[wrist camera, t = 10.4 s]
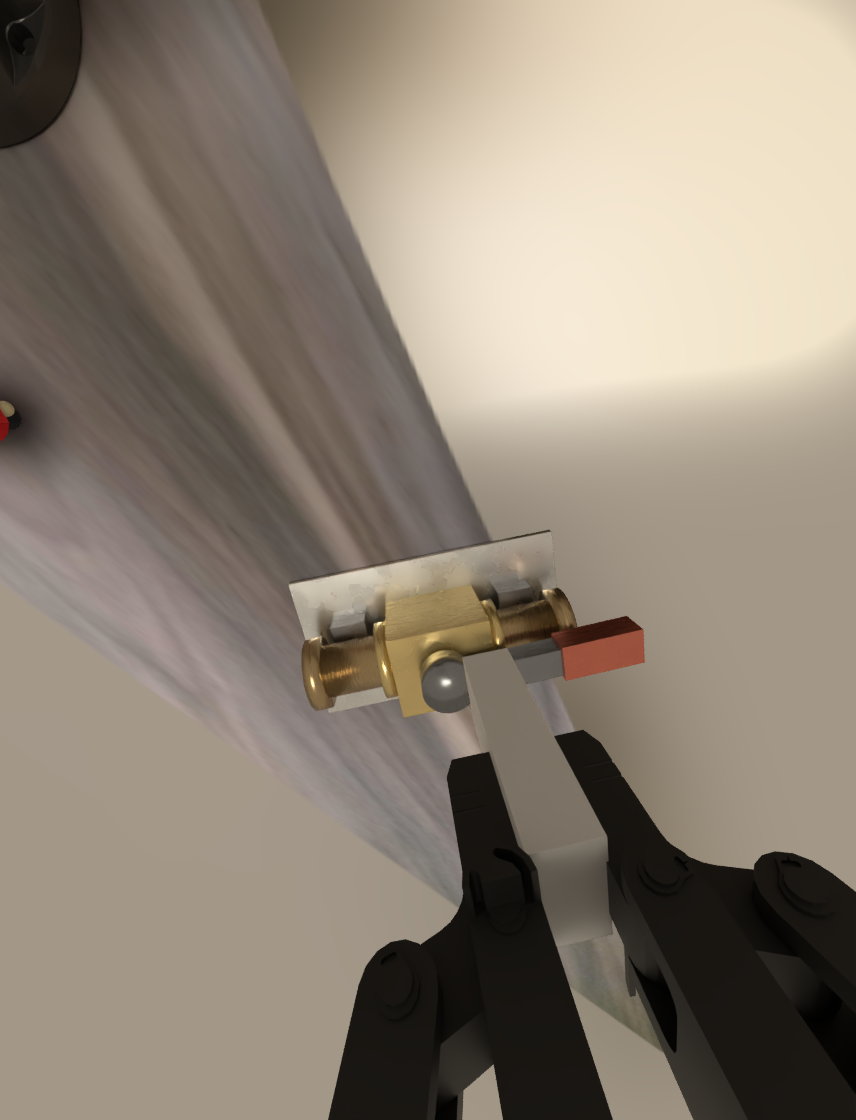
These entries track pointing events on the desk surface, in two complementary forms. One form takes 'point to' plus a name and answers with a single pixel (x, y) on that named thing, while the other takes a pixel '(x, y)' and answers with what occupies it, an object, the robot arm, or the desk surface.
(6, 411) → the toy
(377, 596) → the valve body
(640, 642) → the lever
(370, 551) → the desk surface
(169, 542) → the desk surface
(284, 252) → the desk surface
